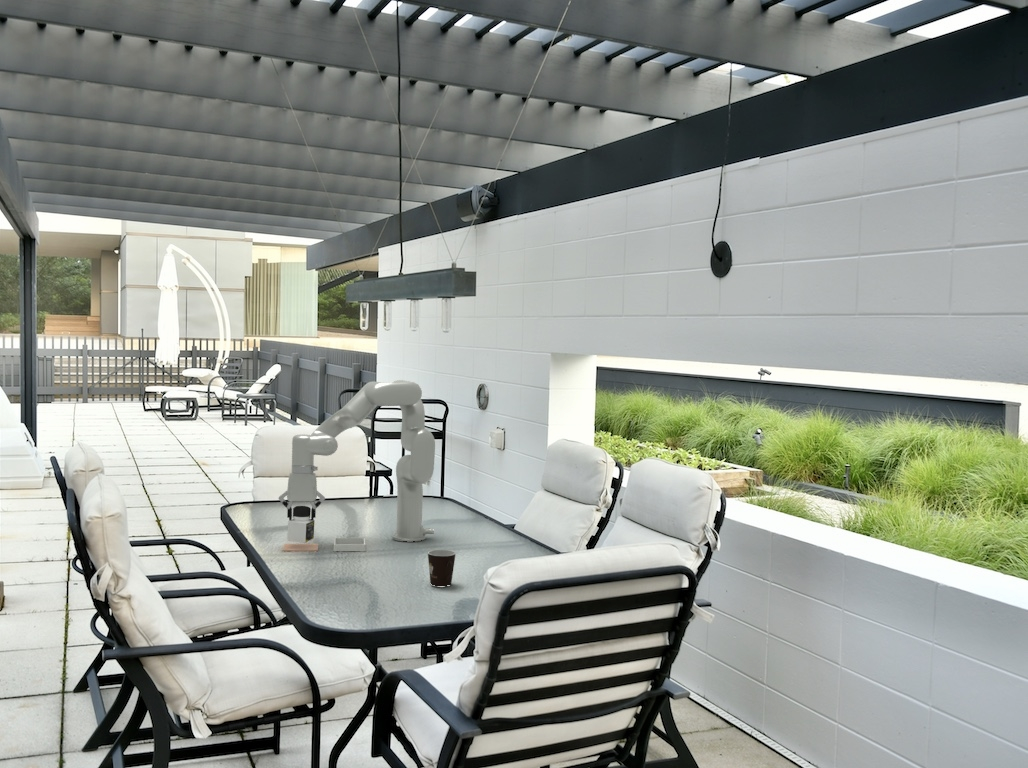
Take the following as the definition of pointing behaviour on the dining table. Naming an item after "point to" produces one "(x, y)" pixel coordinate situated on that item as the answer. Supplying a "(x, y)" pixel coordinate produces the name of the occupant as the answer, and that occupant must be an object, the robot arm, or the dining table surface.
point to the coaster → (300, 547)
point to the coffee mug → (441, 567)
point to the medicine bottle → (301, 525)
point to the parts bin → (349, 544)
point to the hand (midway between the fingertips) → (301, 519)
